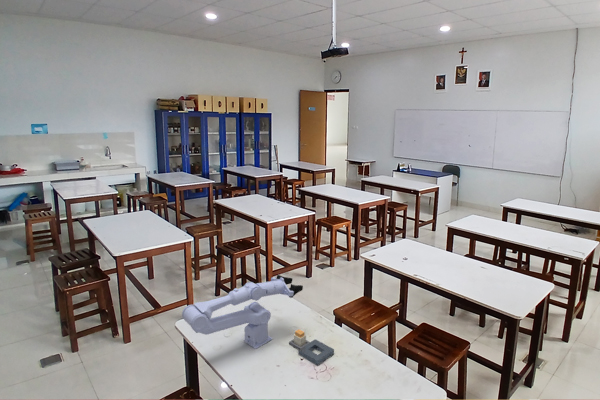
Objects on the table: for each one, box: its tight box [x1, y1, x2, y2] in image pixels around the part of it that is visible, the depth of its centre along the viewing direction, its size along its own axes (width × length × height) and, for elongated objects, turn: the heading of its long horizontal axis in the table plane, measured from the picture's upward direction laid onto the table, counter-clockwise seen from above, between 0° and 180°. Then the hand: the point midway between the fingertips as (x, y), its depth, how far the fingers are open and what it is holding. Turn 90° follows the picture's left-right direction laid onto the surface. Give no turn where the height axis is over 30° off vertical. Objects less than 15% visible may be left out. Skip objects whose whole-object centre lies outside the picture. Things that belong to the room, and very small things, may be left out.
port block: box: [297, 339, 335, 366], centre depth 152 cm, size 10×10×2 cm
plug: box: [293, 329, 307, 347], centre depth 158 cm, size 3×4×6 cm
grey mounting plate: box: [288, 338, 311, 351], centre depth 158 cm, size 6×7×1 cm
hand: (296, 284), depth 170 cm, fingers open, 7 cm apart
